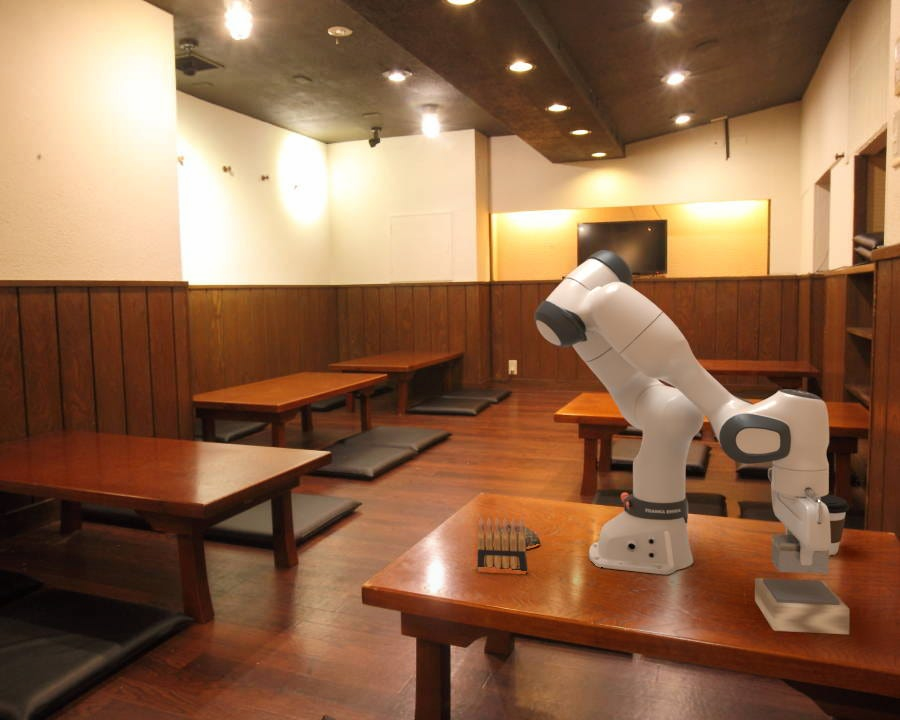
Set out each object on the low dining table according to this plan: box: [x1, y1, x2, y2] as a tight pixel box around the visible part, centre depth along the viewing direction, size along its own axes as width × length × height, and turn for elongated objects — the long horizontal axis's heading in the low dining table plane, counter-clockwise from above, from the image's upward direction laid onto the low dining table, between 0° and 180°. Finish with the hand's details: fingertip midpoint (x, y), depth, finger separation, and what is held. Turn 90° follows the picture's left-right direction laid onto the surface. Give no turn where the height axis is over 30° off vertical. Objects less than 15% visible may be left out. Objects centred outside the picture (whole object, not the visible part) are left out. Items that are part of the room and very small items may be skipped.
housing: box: [771, 534, 830, 575], centre depth 121 cm, size 4×8×5 cm, turn 79°
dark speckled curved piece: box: [492, 523, 541, 548], centre depth 163 cm, size 13×12×5 cm
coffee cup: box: [820, 493, 850, 557], centre depth 152 cm, size 11×11×12 cm
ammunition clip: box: [476, 516, 528, 571], centre depth 146 cm, size 11×2×12 cm, turn 79°
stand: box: [754, 577, 850, 635], centre depth 121 cm, size 12×12×5 cm
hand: (799, 557), depth 121 cm, fingers closed on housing, 4 cm apart
